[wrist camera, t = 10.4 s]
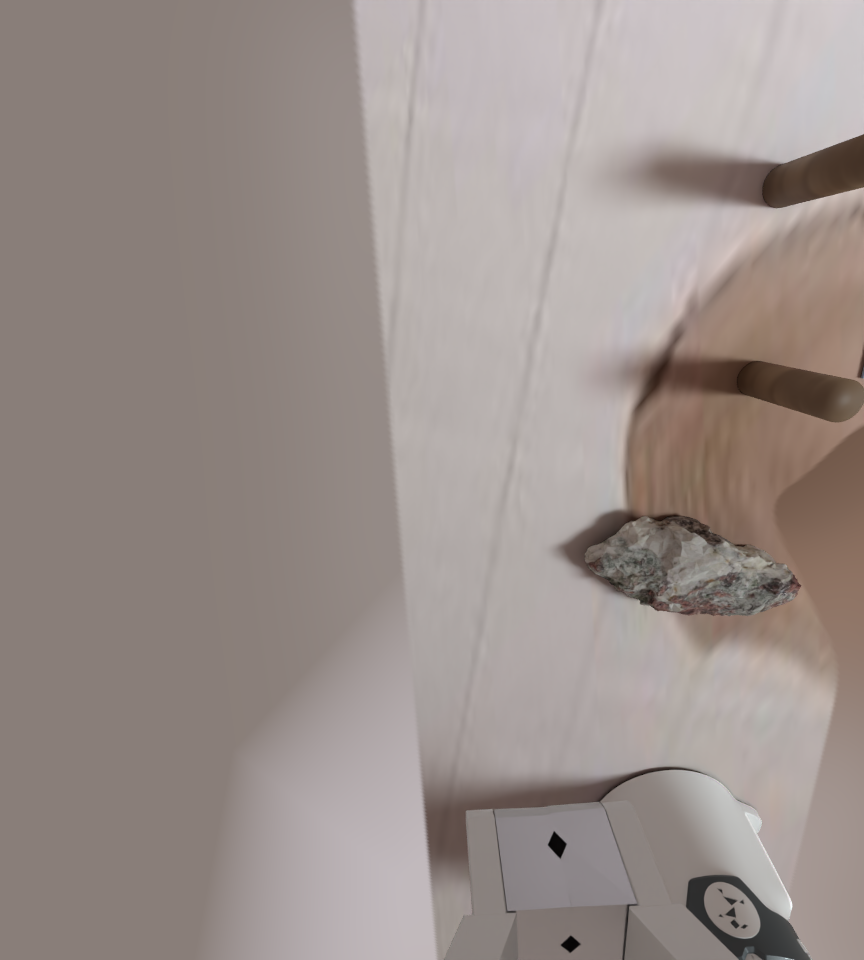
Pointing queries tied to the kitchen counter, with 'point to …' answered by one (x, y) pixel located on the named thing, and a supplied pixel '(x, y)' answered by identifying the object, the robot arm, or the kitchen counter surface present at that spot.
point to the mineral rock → (690, 569)
